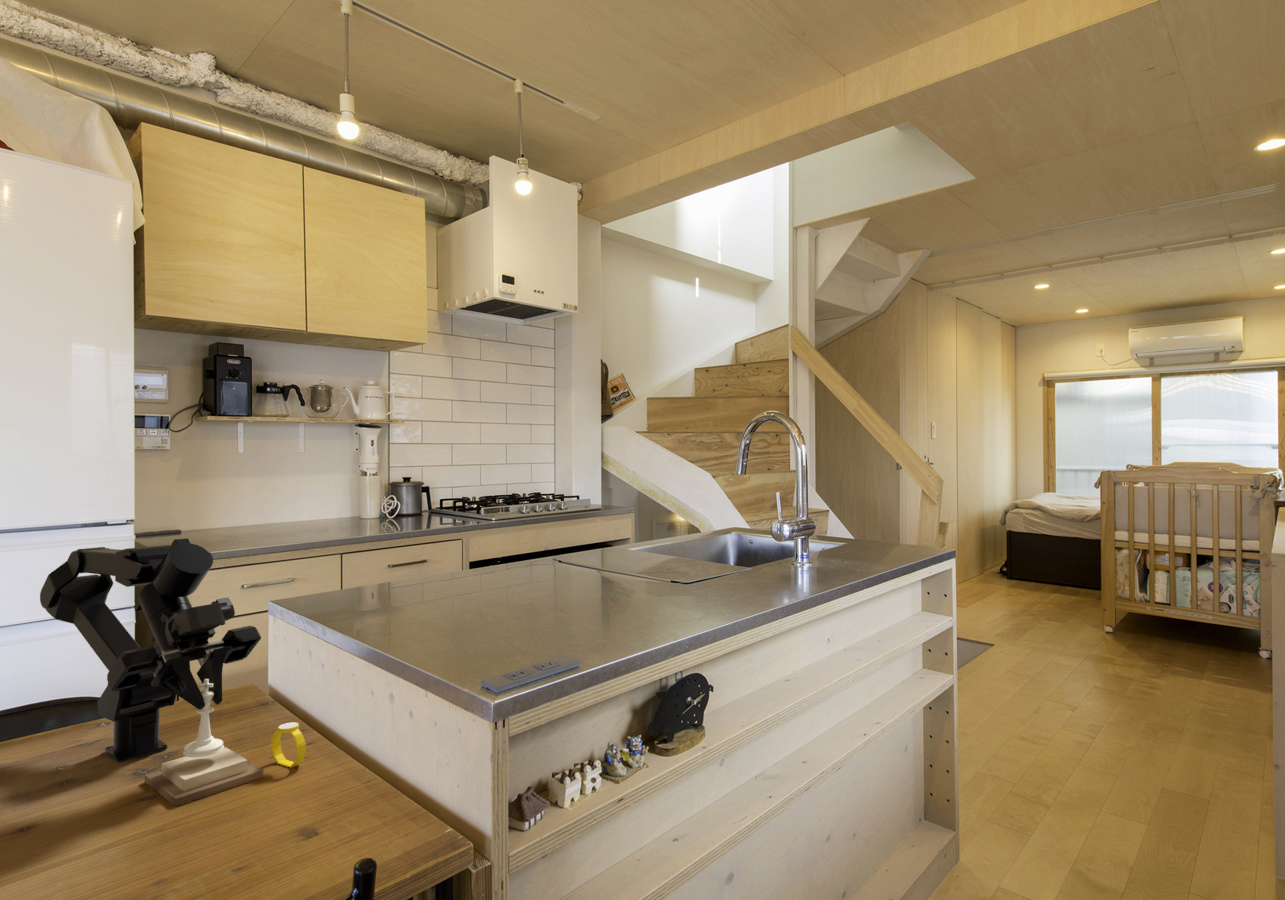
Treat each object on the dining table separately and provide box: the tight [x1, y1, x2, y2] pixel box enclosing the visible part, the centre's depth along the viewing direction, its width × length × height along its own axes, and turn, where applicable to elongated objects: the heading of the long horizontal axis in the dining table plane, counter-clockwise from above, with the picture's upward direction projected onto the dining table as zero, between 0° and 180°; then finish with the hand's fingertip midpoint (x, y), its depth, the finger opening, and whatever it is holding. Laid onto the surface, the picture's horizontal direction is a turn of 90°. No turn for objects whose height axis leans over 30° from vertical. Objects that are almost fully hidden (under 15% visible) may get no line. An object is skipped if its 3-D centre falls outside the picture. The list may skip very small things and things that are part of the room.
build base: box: [144, 746, 264, 807], centre depth 100 cm, size 11×11×2 cm
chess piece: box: [182, 679, 225, 757], centre depth 100 cm, size 5×5×10 cm
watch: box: [270, 721, 307, 769], centre depth 105 cm, size 6×3×6 cm, turn 64°
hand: (211, 705), depth 99 cm, fingers closed on chess piece
